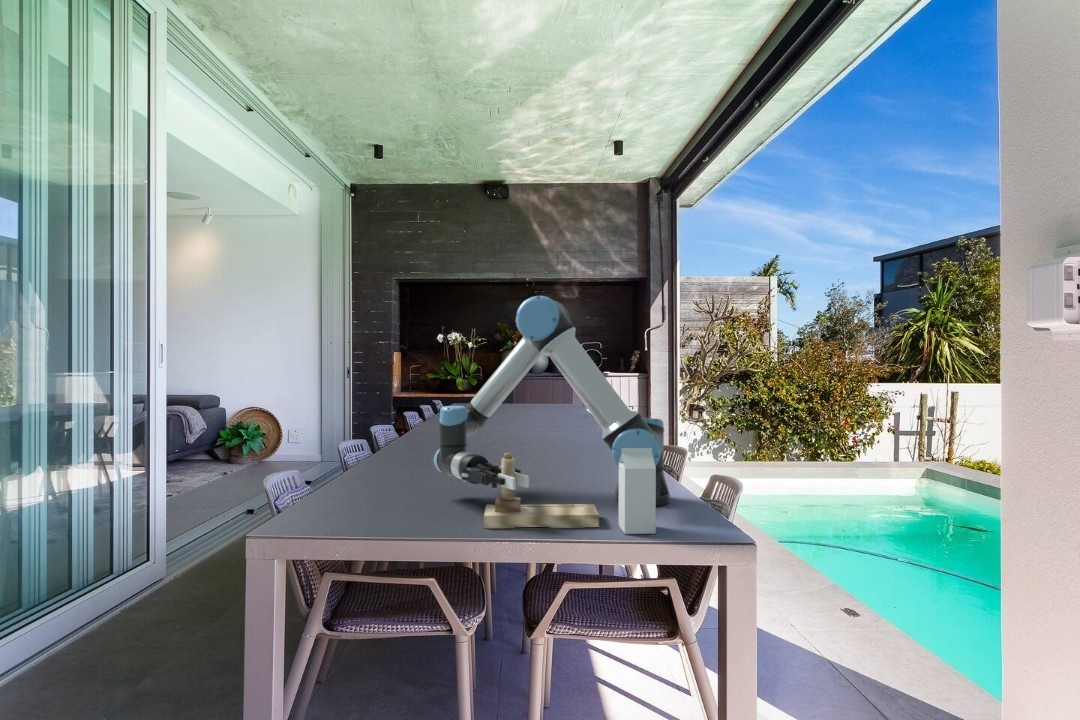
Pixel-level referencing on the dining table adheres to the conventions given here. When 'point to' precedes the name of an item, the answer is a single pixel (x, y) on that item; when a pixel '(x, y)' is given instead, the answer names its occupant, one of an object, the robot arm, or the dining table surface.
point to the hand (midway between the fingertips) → (520, 482)
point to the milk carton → (637, 491)
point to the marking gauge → (507, 495)
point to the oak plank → (544, 516)
